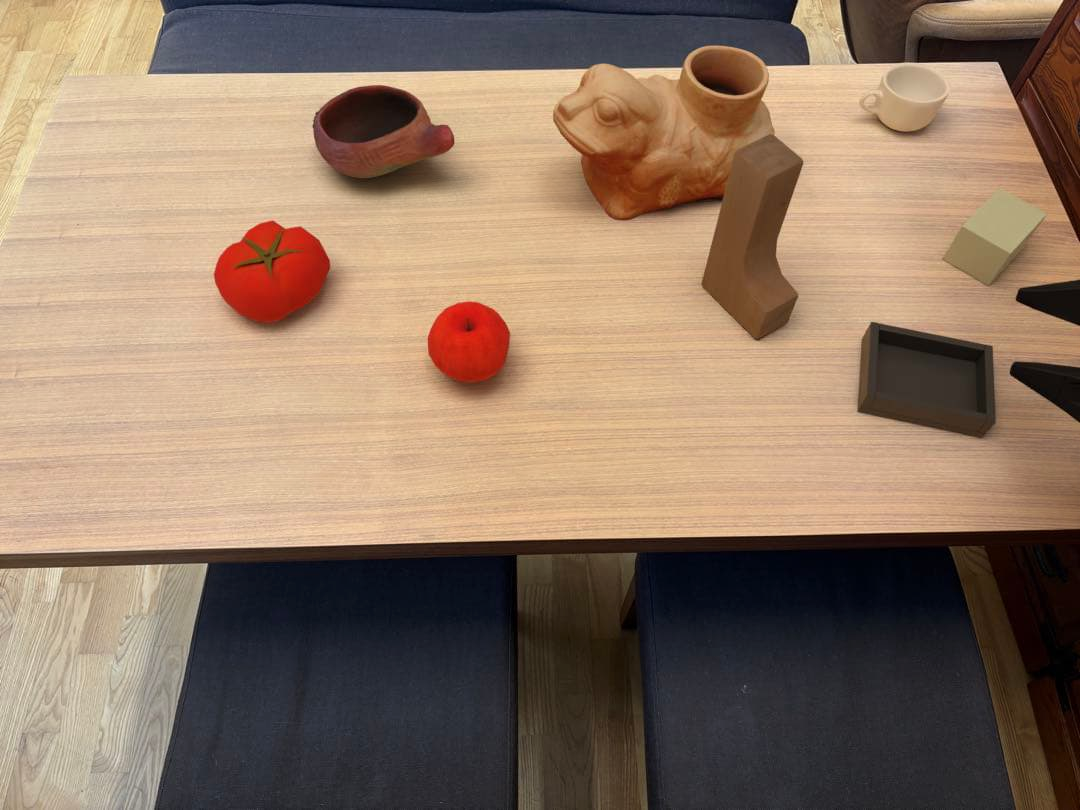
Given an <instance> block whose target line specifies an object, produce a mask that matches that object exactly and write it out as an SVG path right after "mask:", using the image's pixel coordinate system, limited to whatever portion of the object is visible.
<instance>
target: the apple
mask: <svg viewBox="0 0 1080 810" xmlns="http://www.w3.org/2000/svg"><path fill="white" fill-rule="evenodd" d="M428 332H429V333H428V335H427V351H428V355H429V358H430V359H431V361H432V363H433V365H434V366H435V367H436V368H437V369H438V370H439V371H440V372H441V373H442V374H444V375H445V376H446V377H448V378H450V379H452V380H454V381H458V382H461V383H462V382H463V383H477V382H482V381H484V380H487V379H490V378H492V377H493V376H495V375H496V374H498V372H500V370H501V369H502V368H503V367H504V365H505V364H506V361H507V357H508V353H509V350H510V343H511V342H510V341H511V332H510V329H509V327H508V324H507V323H506V322H505V320H504V318H503V317H502V316H501V315H500V313H499V312H497V311H496V310H495V309H494V308H493V307H490V306H488V305H485V304H483V303H481V302H478V301H470V300H469V301H462V302H457V303H453V304H452V305H450V306H447V307H446V308H445V309H443V311H441V312H440V313H439V314H438V315H437V316H436V318H435V320H434V321H433V323H432V325H431V326H430V330H429V331H428Z"/></svg>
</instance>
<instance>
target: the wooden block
mask: <svg viewBox="0 0 1080 810" xmlns="http://www.w3.org/2000/svg"><path fill="white" fill-rule="evenodd" d="M804 162H805V161H804V159H803V158H802V157H801V156H799V154H798V153H796V152H795V151H794V150H793V149H791V148H790V147H789V146H788V145H786V144H785V142H783V141H781V139H779V138H778V137H777V136H776V135H775V136H774V135H772V134H769V135H767V136H765V137H763V138H761V139H759V140H757V141H755V142H752V143H750V144H748V145H746V146H744V147H742V148H740V149H738V150H737V151H736V152H735V154H734V158H733V162H732V165H731V169H730V173H729V177H728V181H727V185H726V189H725V193H724V197H723V199H722V200H721V205H720V209H719V212H718V217H717V221H716V224H715V229H714V232H713V236H712V240H711V244H710V248H709V253H708V257H707V260H706V264H705V268H704V272H703V276H702V280H701V286H702V287H703V288H704V289H705V290H706V291H707V292H708V293H709V294H710V295H711V296H712V297H713V298H714V300H716V301H717V302H718V303H719V304H720V305H721V306H722V307H723V308H724V309H725V310H726V311H727V313H729V314H730V315H731V316H732V317H733V318H734V319H735V320H736V321H737V322H738V323H739V324H740V325H741V326H742V327H743V328H744V329H745V331H746V332H748V333H749V334H750V335H751V336H752V337H753V338H754V339H755V340H759V339H761V338H763V337H764V336H766V335H768V334H770V333H771V332H773V331H775V330H776V329H778V328H780V327H782V326H783V325H786V323H788V322H789V320H790V318H791V316H792V313H793V311H794V308H795V306H796V303H797V301H798V298H799V293H798V291H797V290H796V289H795V288H794V287H793V286H792V284H791V283H790V282H789V281H788V280H787V278H786V277H785V276H784V275H783V274H782V273H783V272H782V270H781V267H780V265H779V262H778V258H777V250H778V249H777V246H778V239H779V236H780V233H781V230H782V227H783V224H784V222H785V218H786V216H787V212H788V209H789V207H790V204H791V201H792V198H793V195H794V192H795V189H796V186H797V184H798V181H799V177H800V174H801V172H802V168H803V167H804Z"/></svg>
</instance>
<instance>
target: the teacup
mask: <svg viewBox="0 0 1080 810" xmlns="http://www.w3.org/2000/svg"><path fill="white" fill-rule="evenodd" d="M950 91H951V83H950V80H949V78H947V76H946V75H945V74H944V73H943V72H941V71H940V70H938V69H936V68H935V67H932V66H930V65H928V64H924V63H919V62H900V63H896V64H893V65H891V66H889V67H887V68H886V70H885V71H883V74H882V76H881V79H880V82H879V85H878V88H877V89H872V90H869V91H867V92H865V93H864V94H863V95H862V96H861V98H860V100H859V107H860V108H861V109H862V110H864V111H866V112H868V113H872V114H875V115H877V117H878V119H879V120H880V121H881V122H882V123H883V125H885V126H886V127H887V128H890V129H892V130H894V131H896V132H897V131H898V132H906V133H907V132H915V131H918V130H920V129H922V128H925V127H926V126H928V125H929V124H930V123H931V122H932V121H933V120H934V118H935V117H936V116H937V114H938V113H939V111H940V110H941V108H942V106H943V105H944V103H945V101H946V99H948V96H949V94H950ZM871 96H873V97H875V101H874V105H870V106H868V105H866V104H865V101H866V100H867V99H868V98H869V97H871Z"/></svg>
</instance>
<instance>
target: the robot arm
mask: <svg viewBox="0 0 1080 810" xmlns="http://www.w3.org/2000/svg"><path fill="white" fill-rule="evenodd" d="M1015 302H1017V303H1019V304H1021V305H1023V306H1026V307H1028V308H1030V309H1032V310H1035V311H1037V312H1040V313H1042V314H1043V313H1044V314H1046V315H1048V316H1051V317H1054V318H1056V319H1059V320H1062V321H1065V322H1067V323H1070V324H1073V325H1076V326H1078V327H1080V279H1075V280H1068V281H1061V282H1060V281H1059V282H1054V283H1045V284H1038V285H1032V286H1031V285H1030V286H1024V287H1020V288H1018V289H1017V292H1016V295H1015ZM1009 375H1010V376H1011V377H1012V378H1013V379H1015V380H1016V381H1018V382H1020V383H1021V384H1022V385H1024V386H1025V387H1027V388H1029V389H1030V390H1032V391H1033V392H1035V393H1036V394H1038V395H1039V396H1041V397H1042V398H1043V399H1046V400H1047V401H1048V402H1050V403H1051V404H1053V405H1054V406H1056V407H1057V408H1059V409H1060V410H1062V411H1063V412H1065V413H1066V414H1067V415H1069V416H1070V417H1071V418H1073V419H1074V420H1075V421H1076V422H1078V423H1079V424H1080V367H1079V366H1073V365H1072V366H1071V365H1063V364H1055V363H1047V362H1046V363H1045V362H1039V361H1038V362H1036V361H1019V360H1018V361H1013V362H1012V364H1011V365H1010V369H1009Z"/></svg>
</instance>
